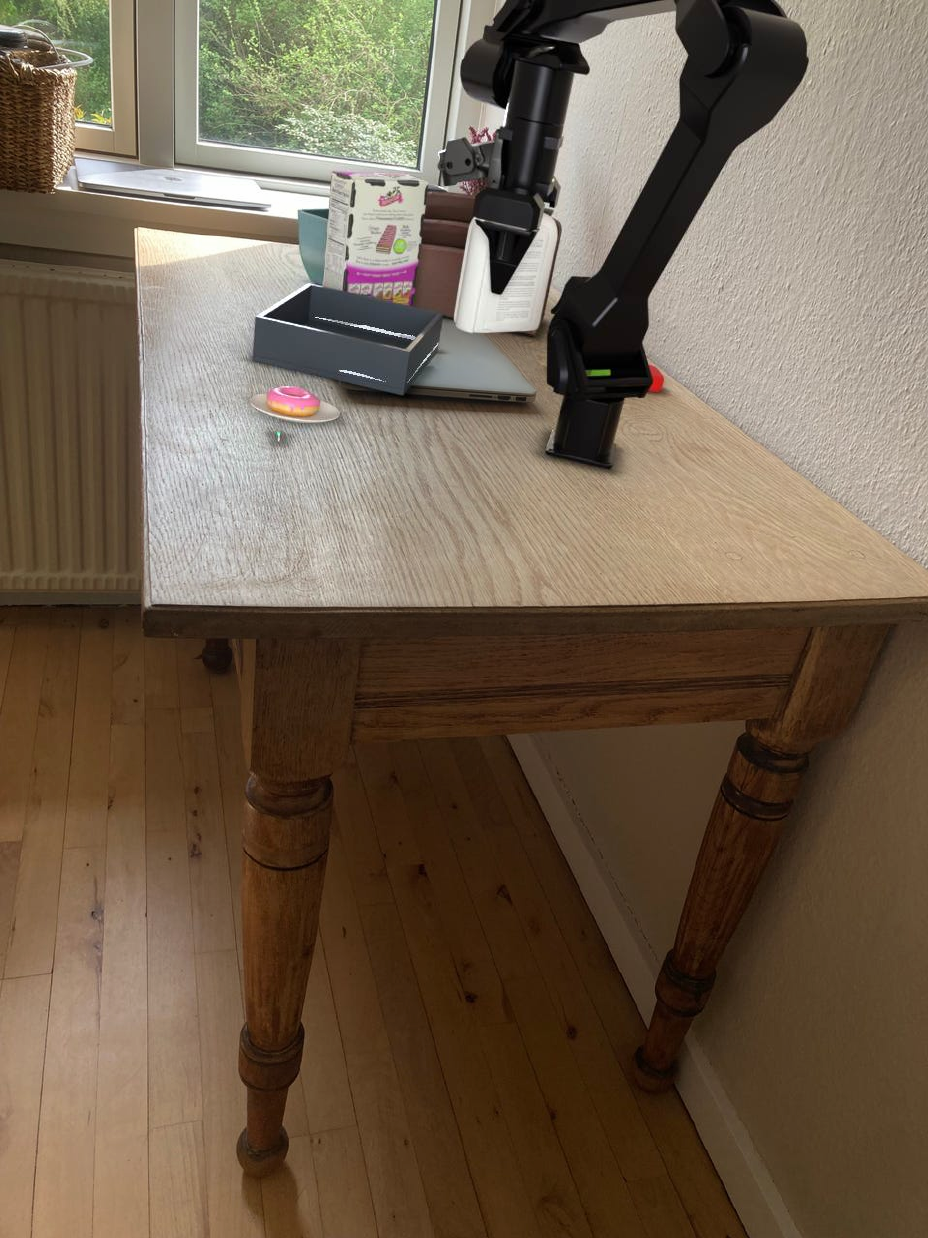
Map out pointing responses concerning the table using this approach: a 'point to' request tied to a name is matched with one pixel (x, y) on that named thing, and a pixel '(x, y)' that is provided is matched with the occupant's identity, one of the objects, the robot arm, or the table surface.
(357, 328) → the tote
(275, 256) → the table surface
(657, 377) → the popsicle
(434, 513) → the table surface
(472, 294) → the photo printer
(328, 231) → the candy bar box
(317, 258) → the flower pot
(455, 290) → the letter holder
